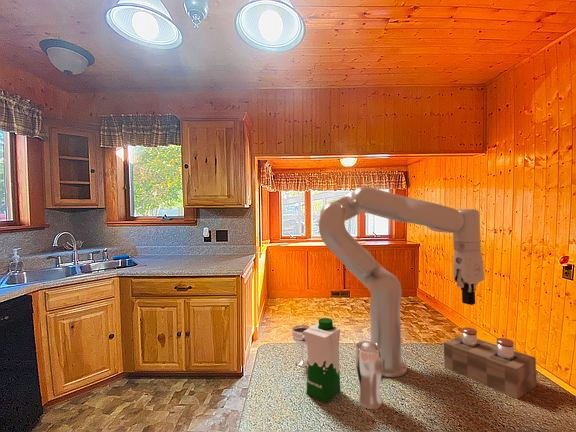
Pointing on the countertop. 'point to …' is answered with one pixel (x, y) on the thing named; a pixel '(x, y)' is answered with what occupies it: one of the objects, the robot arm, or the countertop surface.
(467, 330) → the peg left
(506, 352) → the peg right
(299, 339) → the wineglass
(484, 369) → the tan checkered block
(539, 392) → the countertop surface
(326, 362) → the milk carton
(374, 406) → the beer glass
